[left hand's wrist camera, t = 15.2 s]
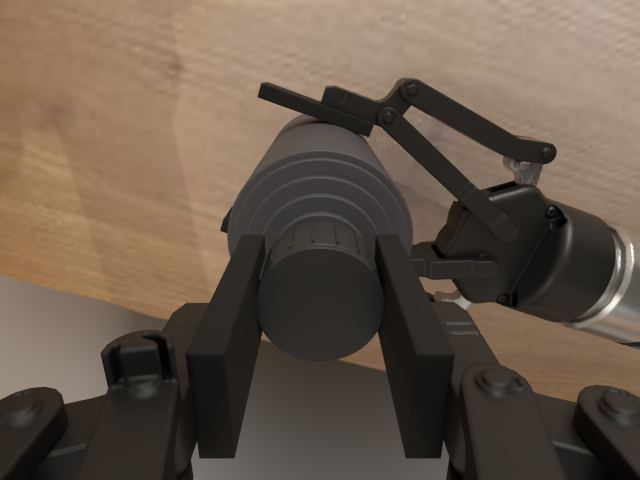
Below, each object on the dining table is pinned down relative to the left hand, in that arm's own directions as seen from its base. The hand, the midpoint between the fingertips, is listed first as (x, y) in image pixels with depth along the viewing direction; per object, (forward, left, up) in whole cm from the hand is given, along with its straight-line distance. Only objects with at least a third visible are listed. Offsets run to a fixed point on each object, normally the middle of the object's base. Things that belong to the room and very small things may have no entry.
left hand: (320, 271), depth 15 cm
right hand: (-5, -1, -13) cm, 13 cm away
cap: (0, 0, +2) cm, 2 cm away
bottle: (0, 0, -19) cm, 19 cm away
